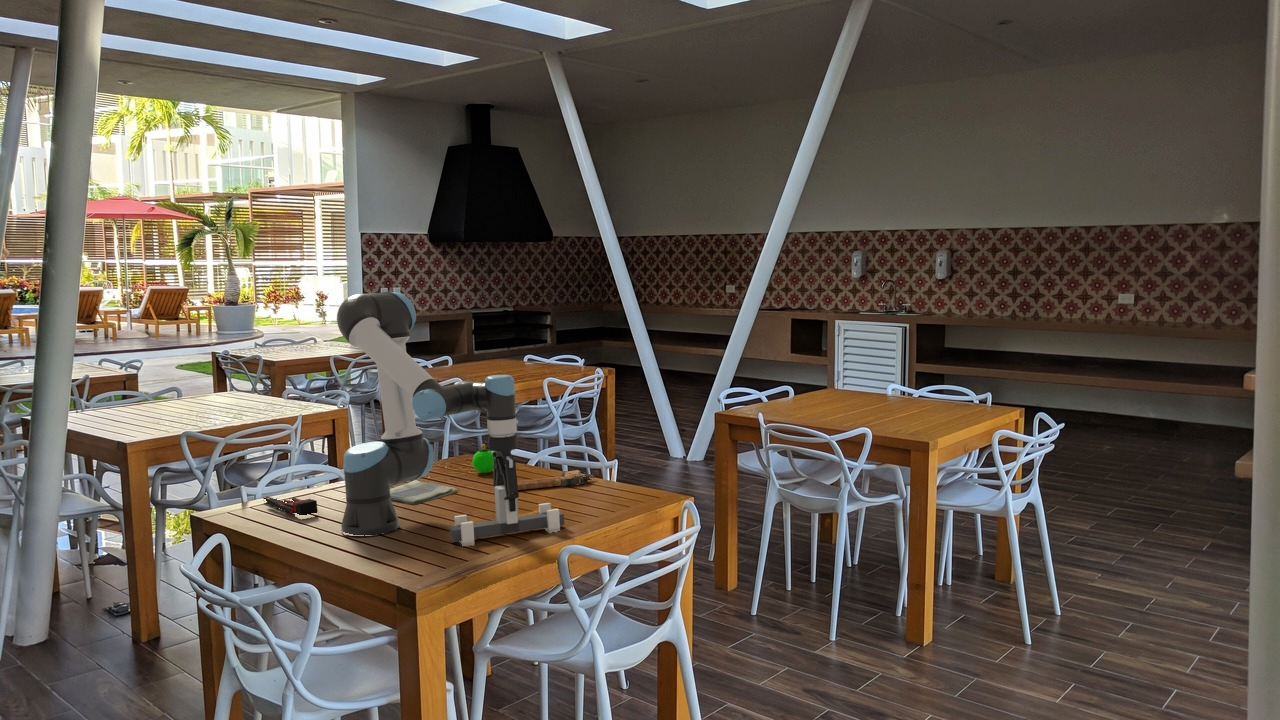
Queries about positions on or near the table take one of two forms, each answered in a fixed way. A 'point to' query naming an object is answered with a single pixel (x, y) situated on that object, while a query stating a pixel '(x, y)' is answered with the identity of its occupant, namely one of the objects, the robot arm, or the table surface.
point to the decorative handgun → (556, 480)
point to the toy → (295, 505)
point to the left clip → (465, 530)
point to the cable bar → (504, 521)
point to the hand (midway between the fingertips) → (507, 518)
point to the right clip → (550, 517)
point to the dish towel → (419, 492)
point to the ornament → (483, 460)
